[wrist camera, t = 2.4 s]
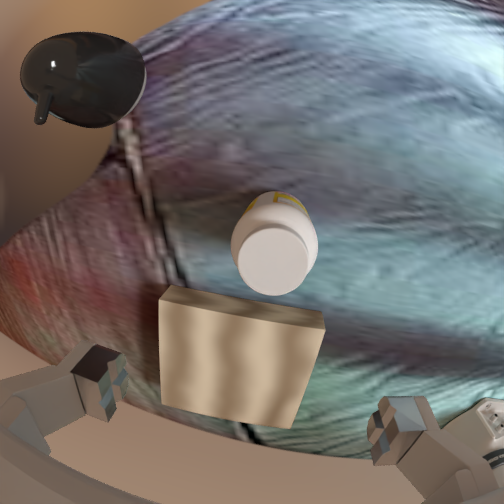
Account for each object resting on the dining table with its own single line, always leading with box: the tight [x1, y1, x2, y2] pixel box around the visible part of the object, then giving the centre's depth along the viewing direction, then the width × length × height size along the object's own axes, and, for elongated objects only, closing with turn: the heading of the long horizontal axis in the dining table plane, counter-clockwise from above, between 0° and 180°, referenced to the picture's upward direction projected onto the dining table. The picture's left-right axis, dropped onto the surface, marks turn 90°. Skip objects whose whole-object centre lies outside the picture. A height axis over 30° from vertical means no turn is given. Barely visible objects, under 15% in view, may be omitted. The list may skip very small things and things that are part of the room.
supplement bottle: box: [231, 191, 318, 296], centre depth 25 cm, size 7×7×13 cm
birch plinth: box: [159, 285, 325, 429], centre depth 35 cm, size 18×17×4 cm
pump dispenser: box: [20, 32, 146, 128], centre depth 21 cm, size 10×10×15 cm
